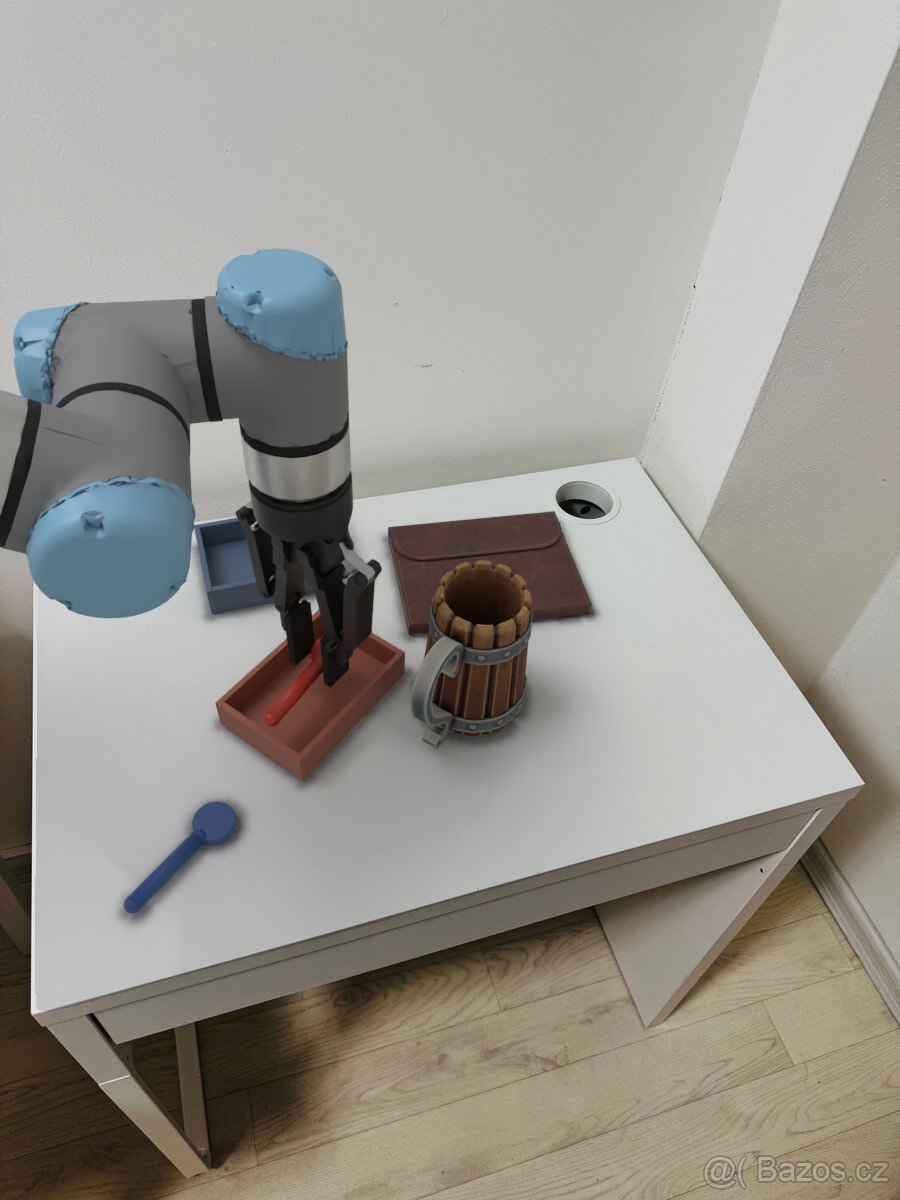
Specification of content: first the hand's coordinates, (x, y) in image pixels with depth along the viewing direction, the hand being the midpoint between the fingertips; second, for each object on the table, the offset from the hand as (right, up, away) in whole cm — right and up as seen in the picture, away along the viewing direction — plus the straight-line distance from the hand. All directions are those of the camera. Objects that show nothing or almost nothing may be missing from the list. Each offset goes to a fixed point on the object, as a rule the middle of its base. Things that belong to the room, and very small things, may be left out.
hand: (319, 665), depth 79 cm
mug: (+13, -5, +3) cm, 14 cm away
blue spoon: (-10, -16, -9) cm, 21 cm away
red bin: (-1, -3, +3) cm, 4 cm away
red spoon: (-1, -2, -1) cm, 2 cm away
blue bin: (-7, +10, +14) cm, 18 cm away
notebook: (+16, +9, +15) cm, 24 cm away
